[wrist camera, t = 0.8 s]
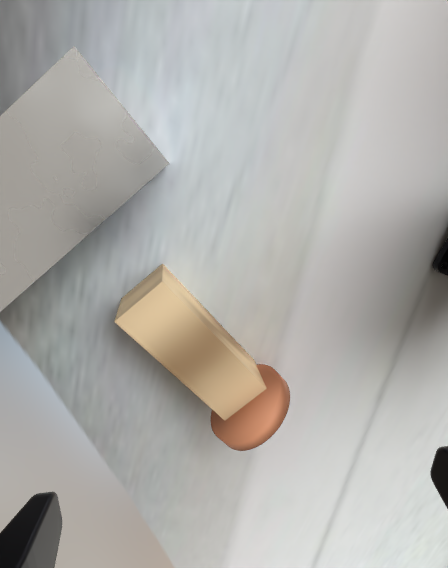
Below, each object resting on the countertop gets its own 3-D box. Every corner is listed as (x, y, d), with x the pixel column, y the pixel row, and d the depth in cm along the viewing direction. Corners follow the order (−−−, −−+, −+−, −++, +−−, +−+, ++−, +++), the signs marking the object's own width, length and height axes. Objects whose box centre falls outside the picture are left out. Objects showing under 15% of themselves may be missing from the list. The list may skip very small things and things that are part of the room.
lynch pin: (273, 359, 23) (303, 412, 18) (214, 404, 24) (228, 469, 19) (175, 251, 20) (179, 283, 15) (109, 308, 20) (91, 357, 15)
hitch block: (168, 162, 18) (169, 163, 14) (17, 294, 19) (-22, 330, 15) (96, 74, 16) (74, 45, 12) (-67, 225, 17) (-137, 246, 13)
